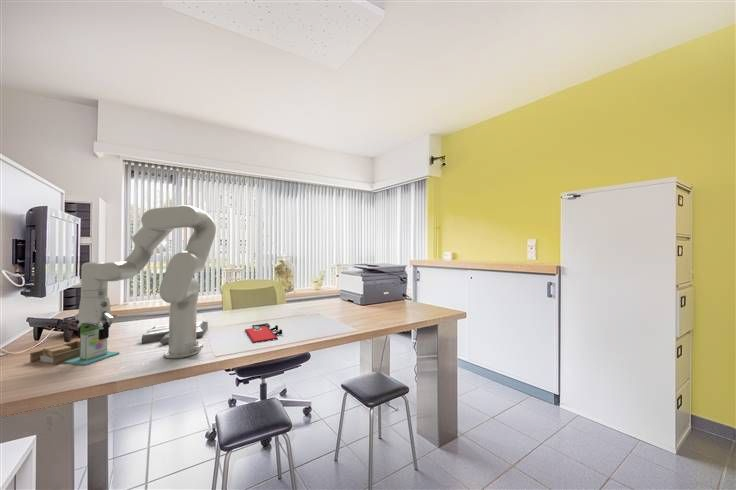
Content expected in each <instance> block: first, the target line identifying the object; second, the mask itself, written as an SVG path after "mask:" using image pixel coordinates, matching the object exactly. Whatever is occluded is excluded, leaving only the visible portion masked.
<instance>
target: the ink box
mask: <svg viewBox="0 0 736 490" xmlns="http://www.w3.org/2000/svg"><path fill="white" fill-rule="evenodd" d="M90 325H92V324H86V323H84V324H81V330H80V332H81V333H80V338H79V339H80V340H79V341H80V359H83V360H89V359H92V358H95V357H98V356H102V355H105V354H107V351H108V338H105V339H102V340H99V329H100V327H99V326H98V324H95V326H94V325H93V326H90ZM86 326H89V328H85V327H86Z"/></svg>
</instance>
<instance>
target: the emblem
mask: <svg viewBox="0 0 736 490" xmlns="http://www.w3.org/2000/svg"><path fill="white" fill-rule="evenodd" d="M208 326H209V323H208V321H203V320H202V321H196V339H197V338H198V339H199V338H202V337H203V336H204V335H206V332H207V331H208V329H209V327H208ZM153 342H154V343H155V342H159V343H160V344H161V345H169V323H168V324H163V325H156V326H153V327H152V328H150V329H148V330H147V331H146V332H145V333H143V334H142V335H141V345H143V344H144V345H145V344H149V343H153Z"/></svg>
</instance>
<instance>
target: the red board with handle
mask: <svg viewBox="0 0 736 490" xmlns="http://www.w3.org/2000/svg"><path fill="white" fill-rule="evenodd" d="M251 326H252V328H245V329H244V331H246V332H245V334H246V335H247V336H249V337H248V338H249V340H250V339H251V340H250V341H251V343H252V344H257V343H263V342H262V341H264V342H269V341H268V340H271V341H274V340H273V339H277V340H278V338H279V337H278V335H280V334H282V335H283V329H279V325H278V324H277V325H275V326H274V327H272V328H270V327H271V325H270V323H268V322H264V323H260V324H252V325H251ZM275 329H276V330H278V331H276V330H275ZM274 330H275V332H273V331H274ZM277 334H278V335H277ZM256 342H257V343H256Z"/></svg>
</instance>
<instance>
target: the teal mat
mask: <svg viewBox="0 0 736 490" xmlns="http://www.w3.org/2000/svg"><path fill="white" fill-rule="evenodd" d="M119 354H120V352H118V351H110V350H109V351H108V350H107V354H105V355H102V356H98V357H95V358H92V359H89V360H83V359H80V357H77V358H74V359H71V360H68V361H65V362H64V363H63V364H69V365H77V366H84V367H85V366H88V365H92V364H94V363H97V362H100V361H103V360H106V359H109V358H111V357H112V358H113V357H115V356H117V355H119Z"/></svg>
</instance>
